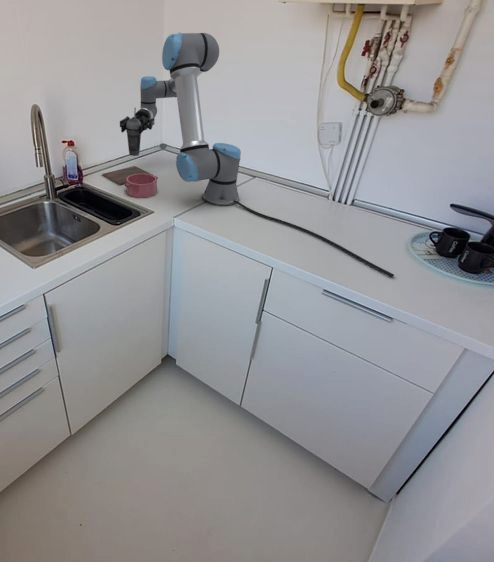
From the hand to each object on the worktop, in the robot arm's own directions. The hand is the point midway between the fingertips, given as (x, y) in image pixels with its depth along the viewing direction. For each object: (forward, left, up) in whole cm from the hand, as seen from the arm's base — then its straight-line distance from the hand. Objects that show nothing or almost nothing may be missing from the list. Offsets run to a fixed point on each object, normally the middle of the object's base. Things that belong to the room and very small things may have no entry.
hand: (131, 129), depth 159 cm
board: (+14, -7, -26) cm, 30 cm away
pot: (-6, -1, -26) cm, 27 cm away
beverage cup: (+3, -4, -12) cm, 13 cm away
